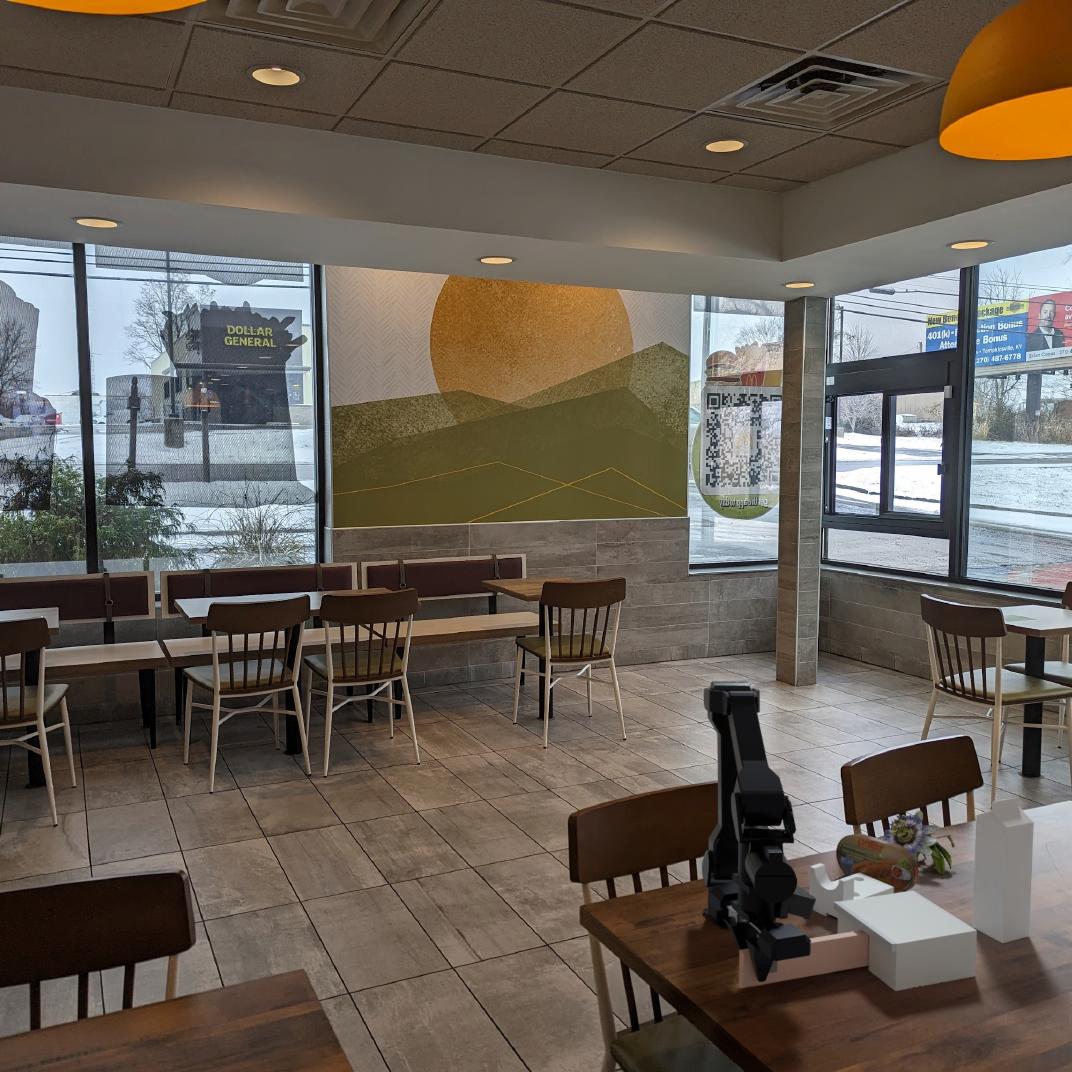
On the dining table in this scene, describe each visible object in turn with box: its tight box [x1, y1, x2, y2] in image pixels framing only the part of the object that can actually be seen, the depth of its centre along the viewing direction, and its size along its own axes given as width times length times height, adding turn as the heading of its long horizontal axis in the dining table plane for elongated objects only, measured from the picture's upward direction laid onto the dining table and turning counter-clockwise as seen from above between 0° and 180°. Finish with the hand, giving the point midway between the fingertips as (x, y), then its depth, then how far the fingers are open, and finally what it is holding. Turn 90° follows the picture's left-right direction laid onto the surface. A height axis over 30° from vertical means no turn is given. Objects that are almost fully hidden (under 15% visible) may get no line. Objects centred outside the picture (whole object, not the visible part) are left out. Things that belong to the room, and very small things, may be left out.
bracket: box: [808, 863, 894, 919], centre depth 164 cm, size 13×7×8 cm, turn 123°
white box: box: [834, 890, 978, 992], centre depth 146 cm, size 15×14×7 cm
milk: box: [971, 796, 1034, 944], centre depth 154 cm, size 6×6×22 cm
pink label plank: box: [738, 930, 870, 989], centre depth 141 cm, size 22×1×5 cm, turn 107°
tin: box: [835, 833, 919, 893], centre depth 172 cm, size 15×3×8 cm, turn 41°
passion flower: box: [877, 810, 956, 875], centre depth 182 cm, size 11×11×12 cm
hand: (756, 976), depth 138 cm, fingers open, 3 cm apart
